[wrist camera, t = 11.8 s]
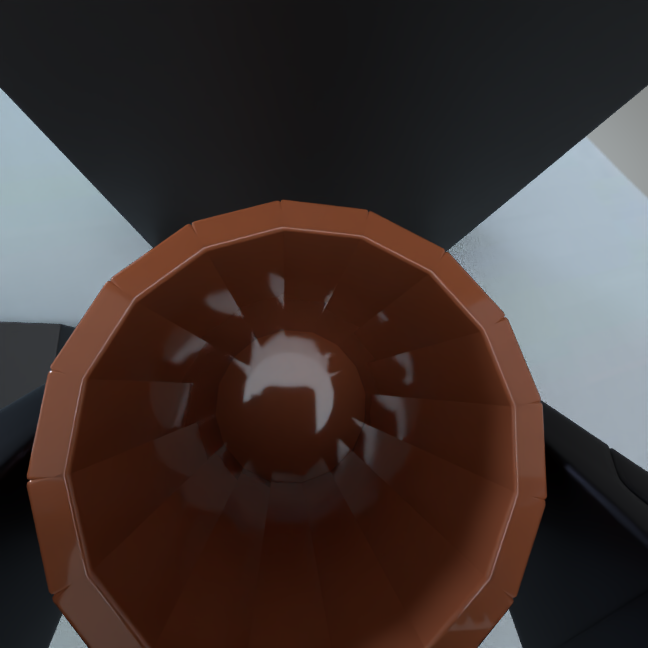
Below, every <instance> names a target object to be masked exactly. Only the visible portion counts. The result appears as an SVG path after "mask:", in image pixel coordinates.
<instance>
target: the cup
mask: <svg viewBox="0 0 648 648" xmlns="http://www.w3.org/2000/svg"><path fill="white" fill-rule="evenodd" d="M504 316H505V314H504V312H503V311H502V310H501V309H500V308H499V307H498V306H497V305H496V304H495V303H494V301H493V300H492V299H491V298H490V297H489V296H488V295H487V294H486V293H485V292H484V291H483V289H482V288H481V287H480V286H479V285H478V284H477V283H476V282H475V281H474V280H473V279H472V277H471V276H470V275H469V274H468V273H467V272H466V271H465V270H464V269H463V268H462V266H461V265H460V264H459V263H458V262H457V261H456V260H455V259H454V258H453V257H452V256H451V254H450V253H448V252H445V250H444V248H442V247H440V246H438V245H436V244H434V243H432V242H430V241H428V240H426V239H424V238H422V237H420V236H418V235H417V234H415V233H413V232H411V231H409V230H407V229H405V228H403V227H401V226H399V225H397V224H395V223H393V222H391V221H389V220H388V219H386V218H384V217H382V216H380V215H378V214H376V213H374V212H372V211H369V212H368V210H366V209H359V208H351V207H342V206H334V205H325V204H317V203H308V202H300V201H291V200H281V202H280V201H273V202H269V203H265V204H261V205H257V206H253V207H249V208H245V209H241V210H237V211H233V212H229V213H225V214H221V215H217V216H213V217H209V218H205V219H201V220H197V221H194V222H192V225H190V224H187V225H185V226H184V227H183V228H181V229H180V230H178V231H177V232H176V233H174V234H173V235H171V236H170V237H168V238H167V239H166V240H164V241H163V242H161V243H160V244H158V245H157V246H156V247H154V248H153V249H151V250H150V251H148V252H147V253H146V254H144V255H143V256H141V257H140V258H139V259H137V260H136V261H134V262H133V263H131V264H130V265H129V266H127V267H126V268H124V269H123V270H121V271H120V272H119V273H117V274H116V275H114V276H113V277H112V278H111V281H107V282H106V283H105V285H104V286H103V288H102V289H101V291H100V292H99V294H98V295H97V297H96V298H95V300H94V301H93V303H92V304H91V306H90V307H89V309H88V310H87V312H86V313H85V315H84V316H83V318H82V319H81V321H80V322H79V324H78V325H77V327H76V328H75V330H74V331H73V333H72V334H71V336H70V337H69V339H68V340H67V342H66V343H65V345H64V346H63V348H62V349H61V351H60V352H59V354H58V355H57V357H56V358H55V360H54V361H53V363H52V364H51V366H50V368H51V369H52V370H51V371H49V373H48V375H47V380H46V385H45V390H44V395H43V399H42V404H41V409H40V414H39V419H38V424H37V429H36V433H35V438H34V443H33V448H32V453H31V458H30V462H29V467H28V472H27V479H29V480H30V481H28V482H27V490H28V495H29V500H30V504H31V509H32V514H33V519H34V523H35V528H36V533H37V538H38V543H39V547H40V552H41V557H42V562H43V566H44V571H45V576H46V581H47V586H48V590H49V593H50V594H54V595H53V597H52V599H53V602H54V603H55V605H56V606H57V607H58V608H59V610H60V611H61V612H62V614H63V615H64V616H65V618H66V619H67V620H68V622H69V623H70V624H71V626H72V627H73V628H74V629H75V631H76V632H77V633H78V635H79V636H80V637H81V639H82V640H83V641H84V643H85V644H86V645H87V647H88V648H478V646H479V645H480V644H481V643H482V642H483V640H484V639H485V638H486V637H487V635H488V634H489V633H490V632H491V630H492V629H493V628H494V627H495V625H496V624H497V623H498V622H499V620H500V619H501V618H502V617H503V616H504V614H505V613H506V612H507V611H508V609H509V608H510V607H511V606H512V604H513V602H514V600H513V598H516V596H517V594H518V591H519V588H520V585H521V581H522V578H523V575H524V572H525V569H526V566H527V562H528V559H529V556H530V553H531V550H532V547H533V543H534V540H535V537H536V534H537V531H538V528H539V524H540V521H541V518H542V515H543V512H544V509H545V505H546V502H545V500H544V499H546V498H547V485H546V464H545V443H544V422H543V405H542V403H540V401H541V397H540V395H539V393H538V390H537V388H536V385H535V383H534V381H533V378H532V376H531V373H530V371H529V369H528V366H527V364H526V361H525V359H524V357H523V354H522V352H521V349H520V347H519V344H518V342H517V340H516V337H515V335H514V332H513V330H512V328H511V325H510V323H509V320H508V319H507V318H506V317H504Z"/></svg>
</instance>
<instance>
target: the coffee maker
mask: <svg viewBox="0 0 648 648" xmlns="http://www.w3.org/2000/svg"><path fill="white" fill-rule="evenodd" d="M647 85H648V0H0V88H1V89H2V90H3V91H4V92H5V93H6V94H7V95H8V96H9V97H10V98H11V99H12V100H13V101H14V103H15V104H16V105H17V106H18V107H19V108H20V109H21V110H22V111H23V112H24V113H25V114H26V115H27V116H28V117H29V118H30V119H31V120H32V121H33V122H34V124H35V125H36V126H37V127H38V128H39V129H40V130H41V131H42V132H43V133H44V134H45V135H46V136H47V137H48V138H49V139H50V140H51V141H52V142H53V143H54V144H55V146H56V147H57V148H58V149H59V150H60V151H61V152H62V153H63V154H64V155H65V156H66V157H67V158H68V159H69V160H70V161H71V162H72V163H73V164H74V165H75V167H76V168H77V169H78V170H79V171H80V172H81V173H82V174H83V175H84V176H85V177H86V178H87V179H88V180H89V181H90V182H91V183H92V184H93V185H94V186H95V187H96V189H97V190H98V191H99V192H100V193H101V194H102V195H103V196H104V197H105V198H106V199H107V200H108V201H109V202H110V203H111V204H112V205H113V206H114V207H115V208H116V210H117V211H118V212H119V213H120V214H121V215H122V216H123V217H124V218H125V219H126V220H127V221H128V222H129V223H130V224H131V225H132V226H133V227H134V228H135V229H136V230H137V232H138V233H139V234H140V235H141V236H142V237H143V238H144V239H145V240H146V241H147V242H148V243H149V244H150V245H151V246H152V247H153V248H154V247H156V246H157V245H158V244H160V243H161V242H163V241H164V240H166V239H167V238H168V237H170V236H171V235H173V234H174V233H176V232H177V231H178V230H180V229H181V228H183V227H184V226H185V225H187V224H190V225H192V222H194V221H197V220H201V219H205V218H209V217H213V216H217V215H221V214H225V213H229V212H233V211H237V210H241V209H245V208H249V207H253V206H257V205H261V204H265V203H269V202H273V201H280V202H281V200H291V201H300V202H308V203H317V204H325V205H334V206H342V207H351V208H359V209H366V210H368V212H369V211H372V212H374V213H376V214H378V215H380V216H382V217H384V218H386V219H388V220H389V221H391V222H393V223H395V224H397V225H399V226H401V227H403V228H405V229H407V230H409V231H411V232H413V233H415V234H417V235H418V236H420V237H422V238H424V239H426V240H428V241H430V242H432V243H434V244H436V245H438V246H440V247H442V248H444V250H445V252H446V251H448V250H449V249H450V248H451V247H452V246H454V245H455V244H456V243H457V242H458V241H460V240H461V239H462V238H463V237H464V236H466V235H467V234H468V233H469V232H471V231H472V230H473V229H474V228H475V227H477V226H478V225H479V224H480V223H481V222H483V221H484V220H485V219H486V218H488V217H489V216H490V215H491V214H492V213H494V212H495V211H496V210H497V209H498V208H500V207H501V206H502V205H503V204H504V203H506V202H507V201H508V200H509V199H511V198H512V197H513V196H514V195H515V194H517V193H518V192H519V191H520V190H521V189H523V188H524V187H525V186H526V185H527V184H529V183H530V182H531V181H532V180H534V179H535V178H536V177H537V176H538V175H540V174H541V173H542V172H543V171H544V170H546V169H547V168H548V167H549V166H551V165H552V164H553V163H554V162H555V161H557V160H558V159H559V158H560V157H561V156H563V155H564V154H565V153H566V152H567V151H569V150H570V149H571V148H572V147H574V146H575V145H576V144H577V143H578V142H580V141H581V140H582V139H583V138H584V137H586V136H587V135H588V134H589V133H591V132H592V131H593V130H594V129H595V128H597V127H598V126H599V125H600V124H601V123H603V122H604V121H605V120H606V119H607V118H609V117H610V116H611V115H612V114H613V113H615V112H616V111H617V110H618V109H620V108H621V107H622V106H623V105H624V104H626V103H627V102H628V101H629V100H630V99H632V98H633V97H634V96H635V95H637V94H638V93H639V92H640V91H641V90H643V89H644V88H645V87H646V86H647Z"/></svg>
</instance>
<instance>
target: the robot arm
mask: <svg viewBox="0 0 648 648" xmlns="http://www.w3.org/2000/svg"><path fill="white" fill-rule="evenodd" d="M45 385H46V383H45V384H43V385H41V386H40V387H38V388H36V389H34V390H33V391H31V392H29V393H28V394H26V395H24V396H23V397H21V398H19V399H17V400H16V401H14V402H12V403H11V404H9V405H7V406H6V407H4V408H2V409H0V648H48V647H49V645H50V642H51V640H52V638H53V635H54V633H55V630H56V628H57V625H58V623H59V621H60V618H61V616H62V612H61V611H60V610H59V608H58V607H57V606H56V605H55V603H54V602H53V599H52V597H53V595H54V594H50V593H49V590H48V586H47V581H46V576H45V571H44V566H43V562H42V557H41V552H40V547H39V543H38V538H37V533H36V528H35V523H34V519H33V514H32V509H31V504H30V500H29V495H28V490H27V482H28V481H30V480H29V479H27V472H28V467H29V462H30V458H31V453H32V448H33V443H34V438H35V433H36V429H37V424H38V419H39V414H40V409H41V404H42V399H43V395H44V390H45ZM540 403H542V405H543V422H544V443H545V464H546V485H547V498H546V499H544V500H545V502H546V505H545V509H544V512H543V515H542V518H541V521H540V524H539V528H538V531H537V534H536V537H535V540H534V543H533V547H532V550H531V553H530V556H529V559H528V562H527V566H526V569H525V572H524V575H523V578H522V581H521V585H520V588H519V591H518V594H517V596H516V598H513V600H514V602H513V604H512V606H511V607H510V608H509V611H510V613H511V616H512V619H513V622H514V625H515V627H516V630H517V633H518V636H519V639H520V642H521V644H522V647H523V648H648V472H647V471H645V470H644V469H642V468H641V467H639V466H638V465H636V464H635V463H633V462H632V461H630V460H629V459H627V458H626V457H624V456H623V455H622V454H620V453H619V452H617V451H616V450H614V449H612V448H610V449H609V446H608V445H607V444H605V443H604V442H602V441H601V440H599V439H598V438H596V437H595V436H593V435H592V434H590V433H589V432H587V431H586V430H584V429H583V428H581V427H580V426H578V425H577V424H576V423H574V422H573V421H571V420H570V419H568V418H567V417H565V416H564V415H562V414H561V413H559V412H558V411H556V410H555V409H553V408H552V407H550V406H549V405H547V404H546V403H544V402H543V401H540Z"/></svg>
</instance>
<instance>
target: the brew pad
mask: <svg viewBox="0 0 648 648" xmlns="http://www.w3.org/2000/svg"><path fill="white" fill-rule="evenodd" d="M74 330H75V328H73V327H70V326H66V325H62V324H47V323H21V322H0V409H2V408H4V407H6V406H7V405H9V404H11V403H12V402H14V401H16V400H17V399H19V398H21V397H23V396H24V395H26V394H28V393H29V392H31V391H33V390H34V389H36V388H38V387H40V386H41V385H43V384H45V383H46V380H47V375H48V373H49V371H51V370H52V369H51V368H50V366H51V364H52V363H53V361H54V360H55V358H56V357H57V355H58V354H59V352H60V351H61V349H62V348H63V346H64V345H65V343H66V342H67V340H68V339H69V337H70V336H71V334H72V333H73V331H74Z"/></svg>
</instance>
